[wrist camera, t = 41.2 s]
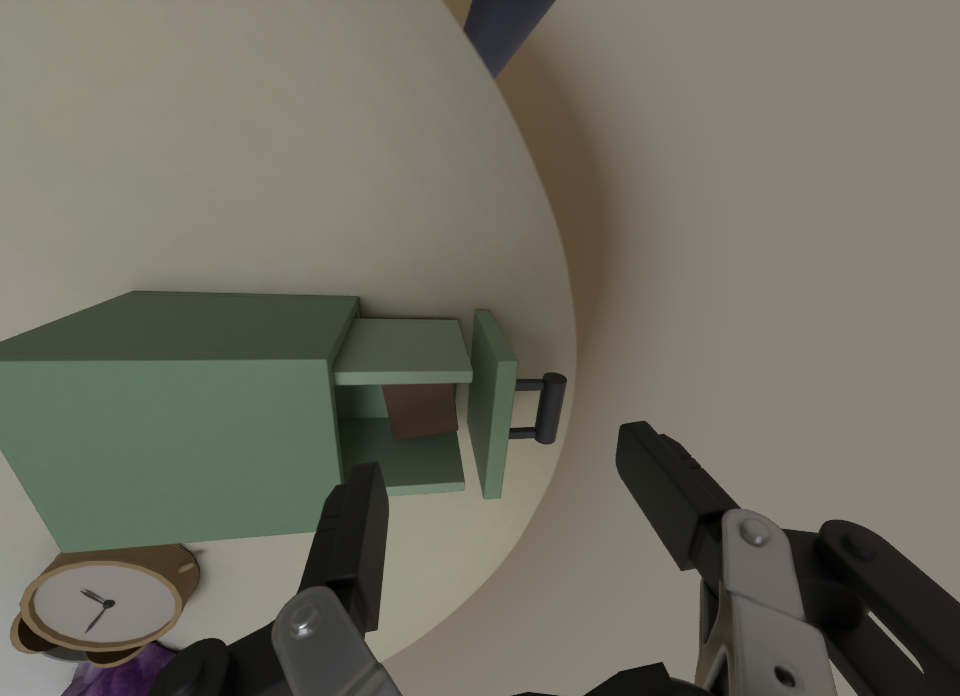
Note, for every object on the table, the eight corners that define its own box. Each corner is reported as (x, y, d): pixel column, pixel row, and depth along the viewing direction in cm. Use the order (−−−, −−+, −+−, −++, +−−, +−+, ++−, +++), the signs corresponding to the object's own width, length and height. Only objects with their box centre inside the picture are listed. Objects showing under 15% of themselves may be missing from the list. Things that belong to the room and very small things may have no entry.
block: (386, 354, 27) (381, 385, 23) (446, 346, 27) (451, 375, 23) (396, 404, 29) (393, 441, 25) (452, 396, 29) (458, 430, 25)
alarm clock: (210, 584, 32) (111, 704, 33) (230, 541, 37) (143, 648, 37) (63, 538, 28) (-47, 679, 28) (106, 496, 32) (10, 619, 33)
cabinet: (358, 296, 27) (326, 359, 17) (367, 424, 31) (346, 529, 22) (131, 290, 24) (-54, 361, 15) (178, 431, 29) (61, 553, 19)
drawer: (543, 311, 29) (592, 360, 21) (527, 419, 33) (562, 494, 25) (303, 306, 25) (253, 362, 18) (319, 426, 30) (285, 515, 22)
